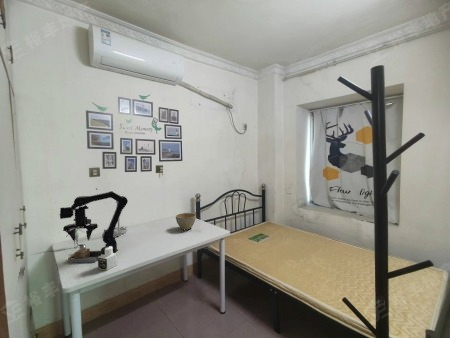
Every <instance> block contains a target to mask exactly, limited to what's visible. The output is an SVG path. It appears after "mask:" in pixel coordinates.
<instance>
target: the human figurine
mask: <svg viewBox="0 0 450 338" xmlns="http://www.w3.org/2000/svg"><path fill="white" fill-rule="evenodd" d="M72 224H75V222H73V223H72ZM78 230H79V232H80V231H81V232H83V233H86V231H83V230H82V229H76V230H75V241H73V244H74V249H77V248H79V246H78V245H79V244H78V243H79V236H80V235H79V232H78ZM69 236H70V235H69V234H68V233H67V235H66V236H65V238H67V237H69Z"/></svg>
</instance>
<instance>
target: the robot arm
mask: <svg viewBox="0 0 450 338" xmlns="http://www.w3.org/2000/svg"><path fill="white" fill-rule="evenodd" d="M109 198H110V199H113V200H114V201H115V202H116V201H117V203H116V205H115V211H114V213H113V215H112V218H111V219H110V222H109V225H108V227H107V229H105V228H104V229H103V233H102V234H101V238H102V242H103V243H105V244H104V247H105V246H112V247H113V253H115V254H117V252H118V251H119V249H118V243H117V239H116V237H113V235H114V229H115V227H117V225H118V219H120V217H121V214H122V212H123V210H124V209H125V207H126V206H127V204H128V199H127V197H126V196H124V195H120V194H118V193H116V192H114V191H107V192H103V193H99V194H93V195H82V196H80V195H79V196H77V197H75V198H74V200H73V203H72V204H71V206H67V207H60V208H59V209H60V211H59V212H60V213H59V219H60V220H62V219H70V218H72V217H74V218H73V221H74V223H75V224H73V223H68V224H67V225H64V226H63V230H62V231H63V232H65V233H67V235H68V234H69V235H68V236H70V238H71V239H72V241H73V242H74V241H75V242H76V240H75V230H76V229H78V230H79V229H80V230H82V229H85V230H86V231H85V233H86V239H87V241H89V240H90V239H91V236H92V233H93V231H96V229H97V228H99V227H98V226H99V225H98V224H97V223H92V219H91V218H88V216H86V210H89V206H88V204H91V203H93V202H98V201H101V200H106V199H109Z"/></svg>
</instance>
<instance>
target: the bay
mask: <svg viewBox="0 0 450 338" xmlns="http://www.w3.org/2000/svg"><path fill="white" fill-rule="evenodd" d="M86 247H87V246H86V244H78V248H79V249H87V248H86ZM99 256H101V250H90V256H89V257H88V258H75V257H74V253H73V254H71V255H70V256H69V257H68V259H67V261H68V263H69V264H83V263H84V264H86V263H96V262H98V257H99Z"/></svg>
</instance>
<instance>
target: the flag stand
mask: <svg viewBox="0 0 450 338" xmlns="http://www.w3.org/2000/svg"><path fill="white" fill-rule="evenodd" d="M115 203H116V204H117V201H116V200H115ZM120 224H121V222H120V218H119V219H118V222H117V226H116V227H115V229H114V235H113V236H121V235H124V234H126V235H127V232H128V227H127V226H125V227H124V226H122V225H121V226H120ZM124 236H125V235H124ZM121 237H122V236H121Z"/></svg>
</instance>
